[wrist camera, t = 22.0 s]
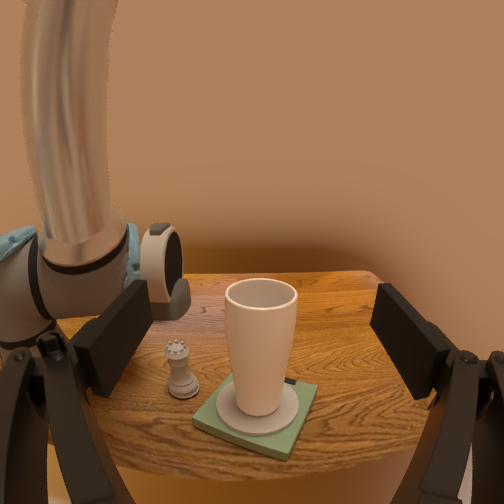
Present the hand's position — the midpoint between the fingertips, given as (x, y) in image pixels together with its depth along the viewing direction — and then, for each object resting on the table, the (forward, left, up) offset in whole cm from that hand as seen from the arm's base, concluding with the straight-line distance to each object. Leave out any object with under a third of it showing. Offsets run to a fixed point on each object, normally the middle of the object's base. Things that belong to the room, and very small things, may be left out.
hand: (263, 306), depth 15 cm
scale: (-4, +9, -21) cm, 24 cm away
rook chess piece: (-15, +8, -22) cm, 28 cm away
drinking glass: (-4, +9, -19) cm, 21 cm away
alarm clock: (-34, +27, -22) cm, 49 cm away
